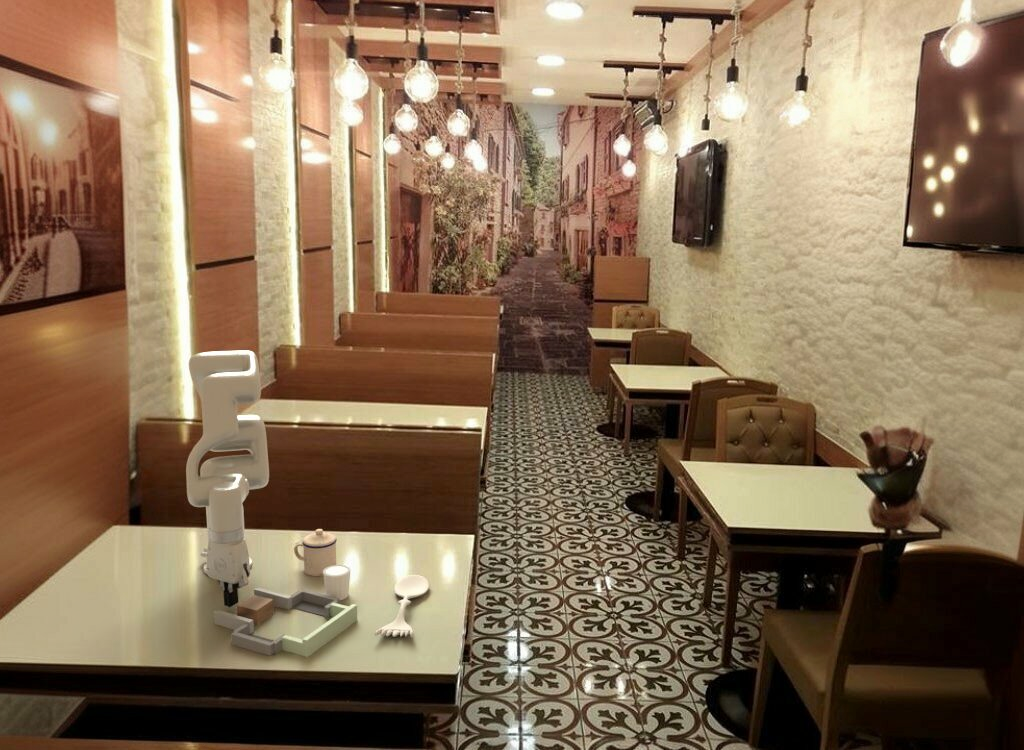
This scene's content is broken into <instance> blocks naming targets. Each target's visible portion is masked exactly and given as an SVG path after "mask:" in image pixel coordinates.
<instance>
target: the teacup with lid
mask: <svg viewBox="0 0 1024 750" xmlns="http://www.w3.org/2000/svg"><path fill="white" fill-rule="evenodd" d="M336 542H337V537H336V536H335V535H334V533H333V534H332V533H330V532H325V531H324V530H323V529H322V528H317V529H315V532H313V533H311V534H307V535H306V536H304V537H303V538H302V542H299V543H297V544H295V546H294V547H293V552H294V553H293V554H295V557H296V558H297V559H298V560H299V561H301V562H303V571H304V572H305V574H306V575H309V576H311V577H312V576H313V577H324V576H323V570H324V569H325V568H327V567H329V566H333V565H337V544H336ZM299 547H303V548H302V549H303V556H302V555H301V554H300V552H299V550H298V548H299Z"/></svg>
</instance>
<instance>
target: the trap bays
mask: <svg viewBox="0 0 1024 750" xmlns="http://www.w3.org/2000/svg"><path fill="white" fill-rule="evenodd" d="M290 596H292V608H291V609H294V610H295V609H296V610H300V611H302V612H307V613H310V614H314V615H318V616H322V617H324V618H330V617H332V616H331V612H330V604H332V603H337V604H340V601H341V600H340V599H339V598H336V597H332V596H328V595H326V594H325V593H324V594H323V593H320V592H317V591H311V590H307V589H302V590H298V591H295V592H294V593H293V594H290ZM285 635H286V634H285V633H283V634H282V635H280V636H279V637H277V638H276V639H274V640H273V639H270V638H266V637H262V636H260V635H256V634H254V633H251V634H250V624H247V623H245V624H244V625H242V626H240V627H239V628H237V629H235V630H234V629H233V630H232V633H231V634H230V638H231V639H230V640H231V645H232V646H236V647H238V648H239V647H240V648H243V649H246V650H249V651H253V652H255V653H259V654H263V655H265V656H269V657H270V656H271V657H272V655H274V654H275V655H277V654H279V653H280V652H282V651H283V650H282V637H283V636H285Z"/></svg>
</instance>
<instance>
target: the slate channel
mask: <svg viewBox="0 0 1024 750" xmlns="http://www.w3.org/2000/svg"><path fill="white" fill-rule="evenodd" d="M253 595H256V596H261V597H265V598H269V599H273V603H274V607H276V608H282V609H286V610H291V609H293V608H292V596H291V595H288V594H284V593H279V592H276V591H272V590H269V589H264V588H260V587H256V588H254V589H253ZM330 612H331V616H330V617H331V618H330V619H329V620H328V621H326V622H325V623H323V624H322V625H320V626H319V627H317V628H316V629H315V630H314V631H312V632H310V633H309V634H308V635H306V636H304V637H303V638H302V639H301V638H297V637H294V636H290V635H288V634H285V636H283V637H282V650H281V651H286V652H289V653H293V654H296V655H299V656H301V657H306V658H308V657H309V656H311V655H313V654H314V653H315V652H316V651H318V650H319V649H321V648H323V646H324V645H326V644H328V643H329V642H330V641H332V640H333V639H334V638H335V637H337V636H338V635H340V634H341V633H342V632H343V631H345V630H346V629H348V628H349V627H350V626H351V625H352V624H355V623H356V622H357V621H358V605H357V604H356V603H355V604H354V603H352V604H350V605H349V606H348V605H344V604H337V603H332V604H330ZM213 618H214V620H213V621H214V625H218V626H222V627H225V628H228V629H231V630H233V631H234V630H235V629H237V628H239V627H240V626H242V625H244V624H245V623H247V624H250V634H254V631H255V629H254V628H255V627H254V625H255V624H253V620H252V619H248V618H245V617H241V616H238V615H237V614H234V613H230V612H227V611H223V610H219V609H217V610H215V611H214V612H213Z"/></svg>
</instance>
